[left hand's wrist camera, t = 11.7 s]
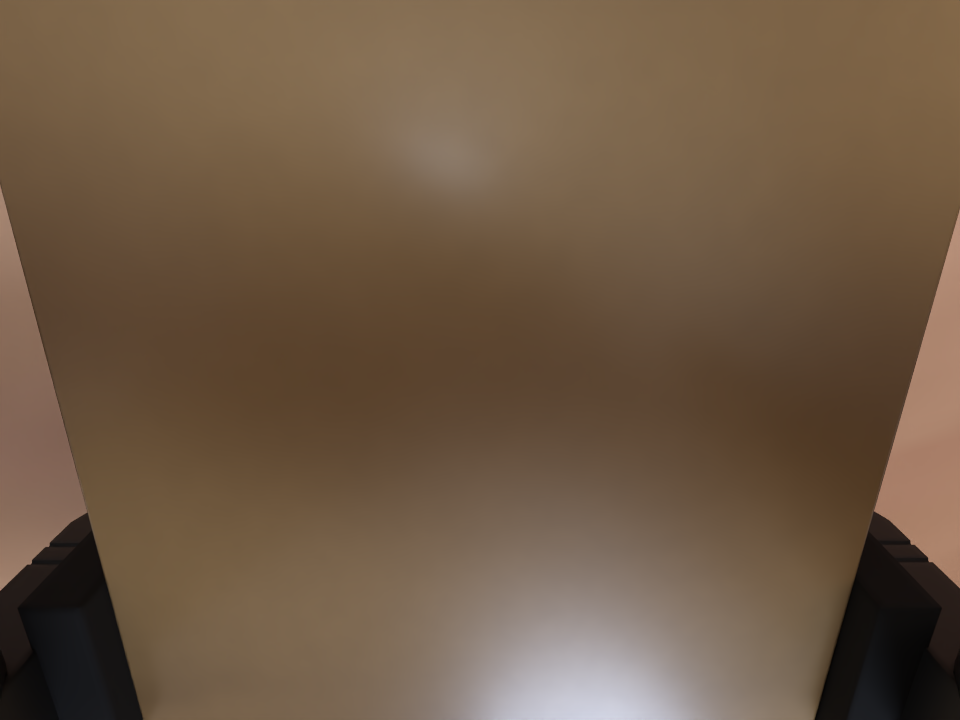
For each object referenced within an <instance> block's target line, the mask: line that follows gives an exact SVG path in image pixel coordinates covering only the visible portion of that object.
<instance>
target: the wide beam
mask: <svg viewBox="0 0 960 720" xmlns="http://www.w3.org/2000/svg"><path fill="white" fill-rule="evenodd" d="M0 185H1V189H2V193H3V197H4V200H5V204H6V208H7V212H8V215H9V219H10V223H11V227H12V230H13V234H14V238H15V242H16V245H17V249H18V253H19V257H20V261H21V264H22V268H23V272H24V276H25V279H26V283H27V287H28V291H29V294H30V298H31V302H32V306H33V309H34V313H35V317H36V321H37V324H38V328H39V332H40V336H41V339H42V343H43V347H44V351H45V354H46V358H47V362H48V366H49V369H50V373H51V377H52V381H53V384H54V388H55V392H56V396H57V399H58V403H59V407H60V411H61V414H62V418H63V422H64V426H65V429H66V433H67V437H68V441H69V444H70V448H71V452H72V456H73V459H74V463H75V467H76V471H77V474H78V478H79V482H80V486H81V489H82V493H83V497H84V501H85V505H86V508H87V512H88V516H89V520H90V523H91V527H92V531H93V535H94V538H95V542H96V546H97V550H98V553H99V557H100V561H101V565H102V568H103V572H104V576H105V580H106V583H107V587H108V591H109V595H110V598H111V602H112V606H113V610H114V613H115V617H116V621H117V625H118V628H119V632H120V636H121V640H122V643H123V647H124V651H125V655H126V658H127V662H128V666H129V669H130V673H131V677H132V680H133V684H134V688H135V691H136V695H137V699H138V702H139V706H140V710H141V713H142V717H143V720H815V717H816V713H817V710H818V706H819V703H820V699H821V695H822V692H823V688H824V685H825V681H826V678H827V674H828V671H829V667H830V664H831V660H832V657H833V653H834V650H835V646H836V643H837V639H838V636H839V632H840V629H841V625H842V622H843V618H844V615H845V611H846V607H847V604H848V600H849V597H850V593H851V590H852V586H853V583H854V579H855V576H856V572H857V569H858V565H859V562H860V558H861V555H862V551H863V548H864V544H865V541H866V537H867V534H868V530H869V527H870V523H871V519H872V516H873V512H874V509H875V505H876V502H877V498H878V495H879V491H880V488H881V484H882V481H883V477H884V474H885V470H886V467H887V463H888V460H889V456H890V453H891V449H892V446H893V442H894V439H895V435H896V431H897V428H898V424H899V421H900V417H901V414H902V410H903V407H904V403H905V400H906V396H907V393H908V389H909V386H910V382H911V379H912V375H913V372H914V368H915V365H916V361H917V358H918V354H919V351H920V347H921V343H922V340H923V336H924V333H925V329H926V326H927V322H928V319H929V315H930V312H931V308H932V305H933V301H934V298H935V294H936V291H937V287H938V284H939V280H940V277H941V273H942V270H943V266H944V263H945V259H946V255H947V252H948V248H949V245H950V241H951V238H952V234H953V231H954V227H955V224H956V220H957V217H958V213H959V210H960V0H0Z"/></svg>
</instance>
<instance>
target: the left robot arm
mask: <svg viewBox="0 0 960 720" xmlns="http://www.w3.org/2000/svg"><path fill="white" fill-rule="evenodd" d="M0 720H143V717H142V713H141V710H140V706H139V702H138V699H137V695H136V691H135V688H134V684H133V680H132V677H131V673H130V669H129V666H128V662H127V658H126V655H125V651H124V647H123V643H122V640H121V636H120V632H119V628H118V625H117V621H116V617H115V613H114V610H113V606H112V602H111V598H110V595H109V591H108V587H107V583H106V580H105V576H104V572H103V568H102V565H101V561H100V557H99V553H98V550H97V546H96V542H95V538H94V535H93V531H92V527H91V523H90V520H89V516H88V513H86V514H84V515H83V516H81V517H79V518H78V519H76V520H74V521H73V522H71V523H70V524H69V525H68V526H67V527H66V528H65V529H64V530H63V531H62V532H61V533H60V534H59V535H57V536H56V537H55V538H54V539H53V540H52V541H51V542H50V546H49V547H45V548H44V549H43V550H42V551H41V552H40V553H39V554H38V555H37V556H36V557H35V558H34V559H33V560H32V564H31V565H27V566H26V567H25V568H23V569H22V570H21V571H20V572H19V573H18V574H17V575H16V576H15V577H14V578H13V579H12V580H11V581H10V582H9V583H8V584H7V585H6V586H5V587H4V588H3V589H2V590H1V591H0ZM815 720H960V588H959V587H958V586H957V585H956V584H955V583H954V582H953V581H952V580H950V579H949V578H948V577H947V576H946V575H945V574H944V573H943V572H942V571H941V570H940V569H939V568H938V567H937V566H936V565H935V564H934V563H933V562H929V561H928V557H927V556H926V555H925V554H924V553H922V552H921V551H920V550H919V549H918V548H917V547H916V546H915V545H911V543H910V540H909V539H908V538H907V537H906V536H905V535H904V534H903V533H902V532H901V531H900V530H899V529H898V528H897V527H896V526H895V525H893V524H892V523H891V522H890V521H889V520H888V519H886V518H884V517H883V516H881V515H879V514H878V513H876V512H873V516H872V519H871V523H870V527H869V530H868V534H867V537H866V541H865V544H864V548H863V551H862V555H861V558H860V562H859V565H858V569H857V572H856V576H855V579H854V583H853V586H852V590H851V593H850V597H849V600H848V604H847V607H846V611H845V615H844V618H843V622H842V625H841V629H840V632H839V636H838V639H837V643H836V646H835V650H834V653H833V657H832V660H831V664H830V667H829V671H828V674H827V678H826V681H825V685H824V688H823V692H822V695H821V699H820V703H819V706H818V710H817V713H816V717H815Z"/></svg>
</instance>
